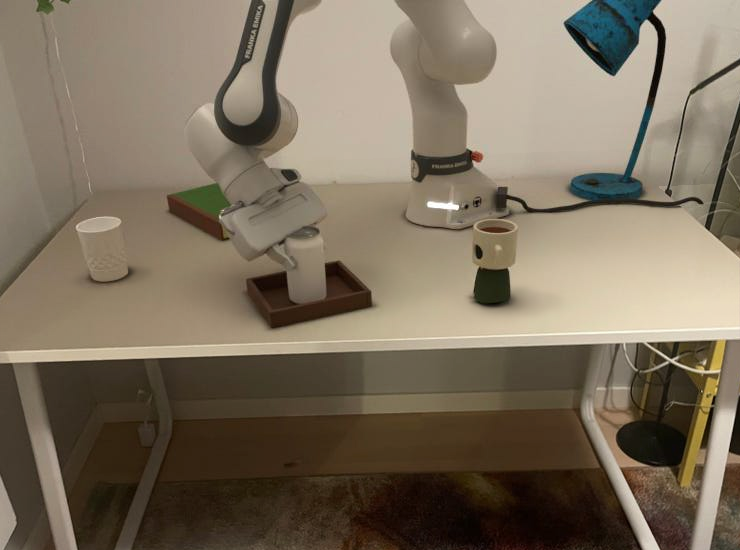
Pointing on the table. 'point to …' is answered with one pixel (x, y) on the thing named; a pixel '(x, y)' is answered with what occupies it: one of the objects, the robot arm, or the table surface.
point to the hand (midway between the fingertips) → (308, 259)
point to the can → (306, 265)
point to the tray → (280, 310)
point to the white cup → (103, 248)
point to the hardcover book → (201, 208)
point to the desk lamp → (610, 51)
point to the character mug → (493, 258)
